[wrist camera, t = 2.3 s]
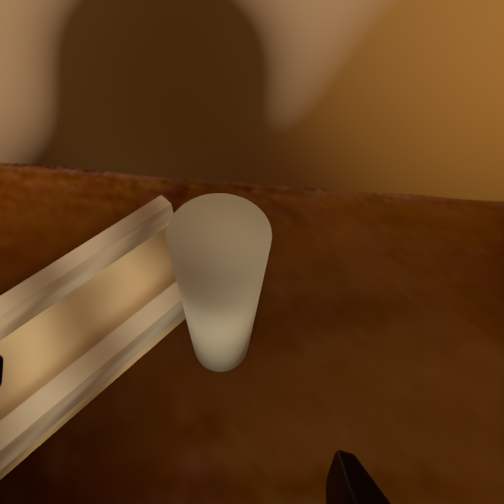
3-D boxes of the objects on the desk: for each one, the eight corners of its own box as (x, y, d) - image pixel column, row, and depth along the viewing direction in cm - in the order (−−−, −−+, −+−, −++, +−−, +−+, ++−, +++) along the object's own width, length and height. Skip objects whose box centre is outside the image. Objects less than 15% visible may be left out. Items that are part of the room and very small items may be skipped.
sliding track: (-66, 536, 16) (-121, 551, 13) (-122, 414, 18) (-177, 406, 16) (232, 278, 24) (233, 256, 22) (167, 219, 27) (161, 194, 24)
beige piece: (220, 384, 20) (218, 300, 10) (182, 344, 21) (143, 230, 11) (259, 343, 22) (292, 233, 11) (222, 308, 23) (221, 178, 13)
